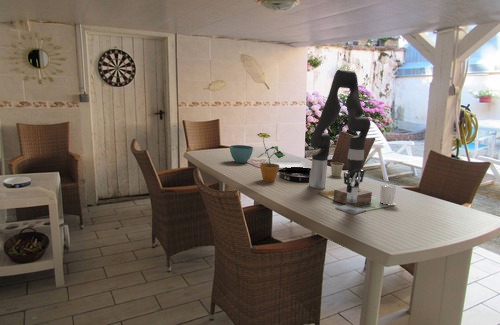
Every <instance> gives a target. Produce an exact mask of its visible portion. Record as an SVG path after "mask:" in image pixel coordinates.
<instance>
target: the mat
mask: <svg viewBox="0 0 500 325" xmlns="http://www.w3.org/2000/svg"><path fill="white" fill-rule="evenodd" d="M335 210H338V211H341V212H344V213H347V214H350V215H354V216H355V215H357V214H360V213H361V214H362V213H366V212H367V210H366V209H365V208H361V207H360V206H357V207H356V206H353V205H349V204H343V205H338V206H335ZM365 211H366V212H365Z"/></svg>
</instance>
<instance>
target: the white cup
mask: <svg viewBox="0 0 500 325" xmlns="http://www.w3.org/2000/svg"><path fill="white" fill-rule="evenodd" d="M396 190H397V185H395V184H393V183H381V184H380V192H379V203H380V202H381V203H383V204H382V205H384V204H393V205H394V202H395V196H396ZM381 203H380V204H381Z"/></svg>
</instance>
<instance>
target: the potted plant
mask: <svg viewBox="0 0 500 325" xmlns="http://www.w3.org/2000/svg"><path fill="white" fill-rule="evenodd" d="M256 135H257V136H258V137H259V138H262V140H263V142H262V143H263V147H264V150H265V151H264V152H263V153H261V154H260V155H259V156H257V157H256V158H257V159H258V158H260V157H262V156H263V155H264V154H266V155H267V158H268V160H269V162H266V163H260V164H259V167H260V172H261V176H262V180H263V181H264V182H267V183H270V182H272V183H273V182H275V181H276V178H277V174H278V172H279V171H278V169H279V165H277V164H272V163H270V159H271V157H272V156H273V155H275V156H276V157H277V158H278V159H281V158H284V157H285V156H286V155H285V154H284V153H283V152H282V151H281V150H279V147H278V145H276V146H271V147H270V148H266V144H265V139H268V138H271V135H269V134H268V133H263V132H260V133H257V134H256ZM273 149H274V151H273V153H272V154H271V155H270V156H269V152H268V151H270V150H273ZM275 151H276V152H275Z"/></svg>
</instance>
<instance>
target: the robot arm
mask: <svg viewBox="0 0 500 325" xmlns="http://www.w3.org/2000/svg"><path fill="white" fill-rule="evenodd" d="M357 75H358V74H357V73H356V72H355V71H354V70H350V69H341V68H339V69H338V70H337V71H336V72H335V73H334V75H333V79H332V83H331V86H330V89H329V92H328V95H327V98H326V101H325V103H324V105H323V108H322V111H321V114H320V117H319V120H318V122H317V124H316V126H315V128H314V130H313V132H312V135H311V137H310V142H309V144H310V146H311V148H313V149H319V150H318V151H317V152H314V153H313V154H312V155H311V169H310V170H309V180H308V186H309V187H311V188H313V189H318V190H320V189H325V188H326V182H327V181H326V180H327V170H328V158H329V155H330V147H331V136H330V134H329V133H327V132H325V131H326V130H327V129H328V128H329V127H331V126H332V125H334V124H333V123H335V122H336V121H337V119H338V117H339V115H340V113H341V109H342V108H341V103H340V100H339V94H338V93H339V89H340V88H341V89H349V91H350V93H349V94H348V96H347V98H346V100H345V107H346V110H347V114H348V115H347V117H348V118H347V129H348V130H349V131H350V132H357V133H358V132H359V133H358V134H357V135H354V136H351V137H350V138H349V147H348V152H347V163H346V167H347V168H348V170H347V172H343V183H344V184H345V185H346V187H347V192H348V193H351V190H352V186H351V185H357V186H358V189H360V188H359V187H360V184H361V183H363V181H364V177H365V176H364V175H365V170H362V169H363V168H364V159H365V145H366V143H365V142H366V139H367V136H368V133H369V131H370V128H371V120H370V119H369V117H367V116H366V117H365V116H363V114H364V113H363V112H364V110H363V107H362V106H363V105H362V103H361V100H360V94H359V82H358V76H357ZM353 182H354V184H353ZM344 184H343V185H344Z"/></svg>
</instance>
